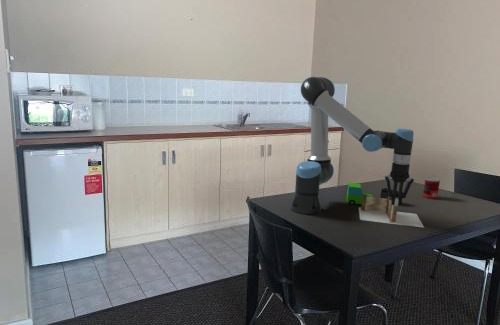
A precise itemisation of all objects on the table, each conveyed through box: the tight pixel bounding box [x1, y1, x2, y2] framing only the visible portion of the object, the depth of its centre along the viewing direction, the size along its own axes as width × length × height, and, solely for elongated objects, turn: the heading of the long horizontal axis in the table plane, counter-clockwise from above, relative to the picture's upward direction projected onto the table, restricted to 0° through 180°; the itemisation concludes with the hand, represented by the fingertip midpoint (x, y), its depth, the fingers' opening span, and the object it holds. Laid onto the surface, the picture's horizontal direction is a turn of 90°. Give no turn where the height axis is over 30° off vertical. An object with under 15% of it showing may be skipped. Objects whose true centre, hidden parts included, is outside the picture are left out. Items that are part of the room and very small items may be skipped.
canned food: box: [422, 176, 441, 200], centre depth 226 cm, size 8×8×11 cm
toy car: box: [346, 182, 374, 205], centre depth 207 cm, size 10×13×10 cm
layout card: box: [358, 206, 425, 228], centre depth 188 cm, size 28×19×1 cm
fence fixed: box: [360, 193, 392, 213], centre depth 194 cm, size 14×2×8 cm, turn 77°
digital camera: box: [380, 187, 404, 205], centre depth 212 cm, size 10×5×7 cm, turn 42°
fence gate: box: [388, 200, 398, 222], centre depth 186 cm, size 13×2×7 cm, turn 172°
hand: (394, 211), depth 185 cm, fingers closed
